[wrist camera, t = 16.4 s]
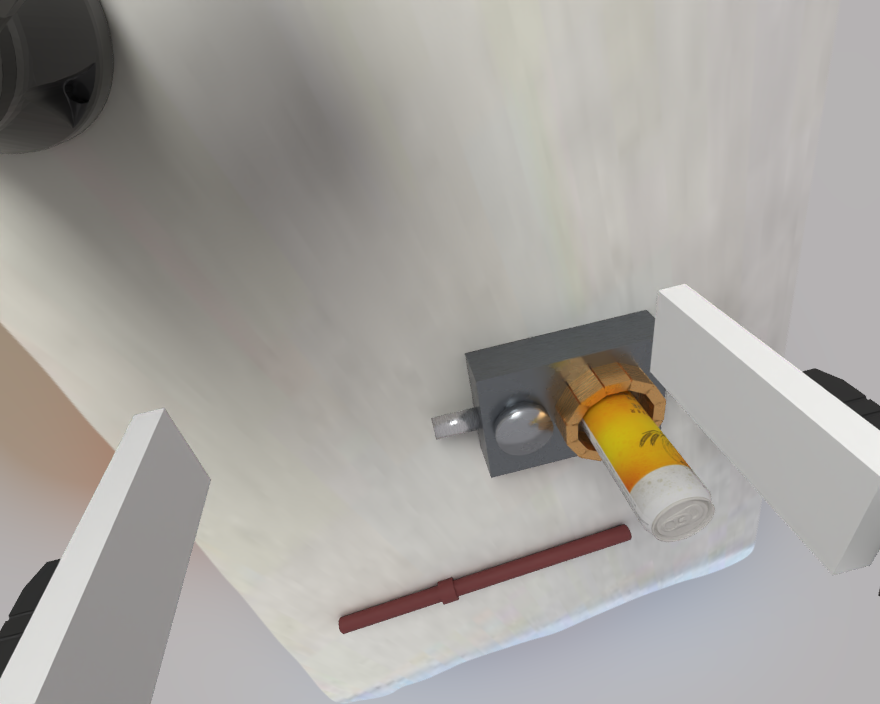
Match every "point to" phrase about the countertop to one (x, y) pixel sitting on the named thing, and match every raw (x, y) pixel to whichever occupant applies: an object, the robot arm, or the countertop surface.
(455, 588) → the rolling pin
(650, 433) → the beer can
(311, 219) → the countertop surface
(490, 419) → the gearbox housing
